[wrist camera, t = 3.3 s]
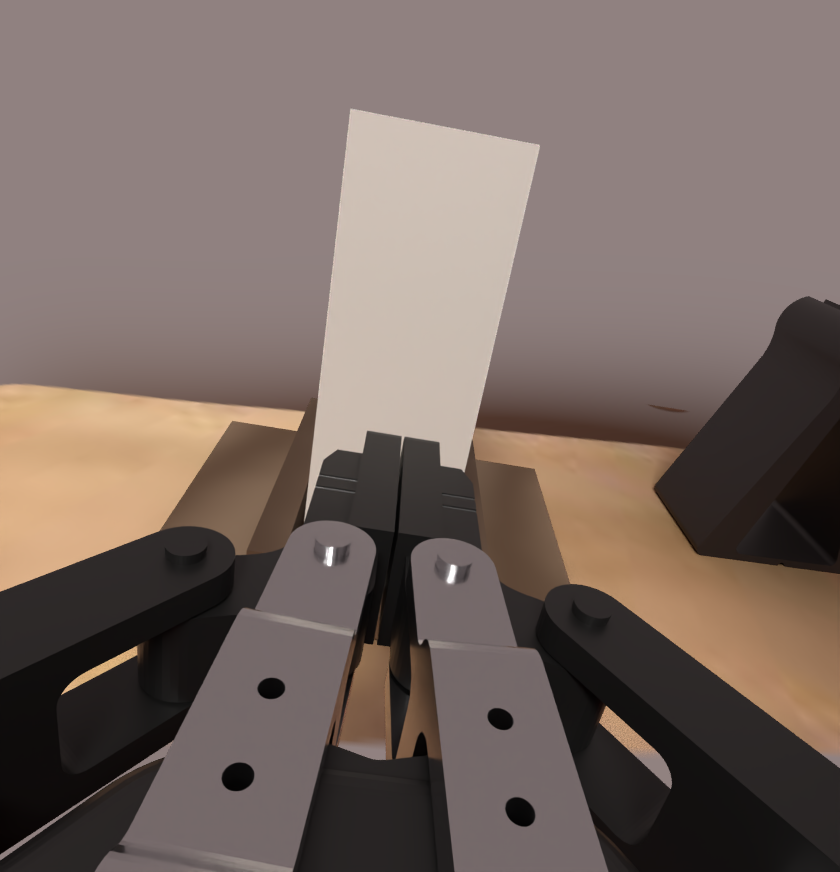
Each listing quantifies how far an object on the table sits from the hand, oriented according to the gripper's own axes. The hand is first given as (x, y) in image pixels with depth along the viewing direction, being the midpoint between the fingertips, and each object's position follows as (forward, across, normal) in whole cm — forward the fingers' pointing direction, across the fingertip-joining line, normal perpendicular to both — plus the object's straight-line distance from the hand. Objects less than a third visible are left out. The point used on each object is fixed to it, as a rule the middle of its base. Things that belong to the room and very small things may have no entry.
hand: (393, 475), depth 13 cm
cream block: (+9, 0, +8) cm, 13 cm away
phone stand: (+18, -20, +10) cm, 28 cm away
